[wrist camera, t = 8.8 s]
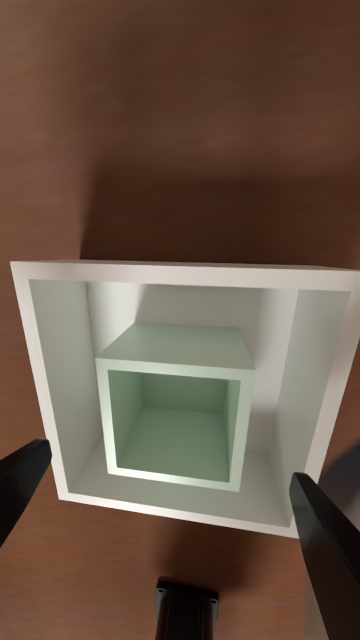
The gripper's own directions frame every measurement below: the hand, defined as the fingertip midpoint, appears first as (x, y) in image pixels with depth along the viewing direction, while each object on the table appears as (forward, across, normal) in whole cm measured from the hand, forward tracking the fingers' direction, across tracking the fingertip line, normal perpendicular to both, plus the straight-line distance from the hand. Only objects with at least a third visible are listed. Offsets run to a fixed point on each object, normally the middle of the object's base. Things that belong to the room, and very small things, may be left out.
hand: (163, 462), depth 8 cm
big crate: (+7, 0, 0) cm, 7 cm away
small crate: (+7, 0, 0) cm, 7 cm away
